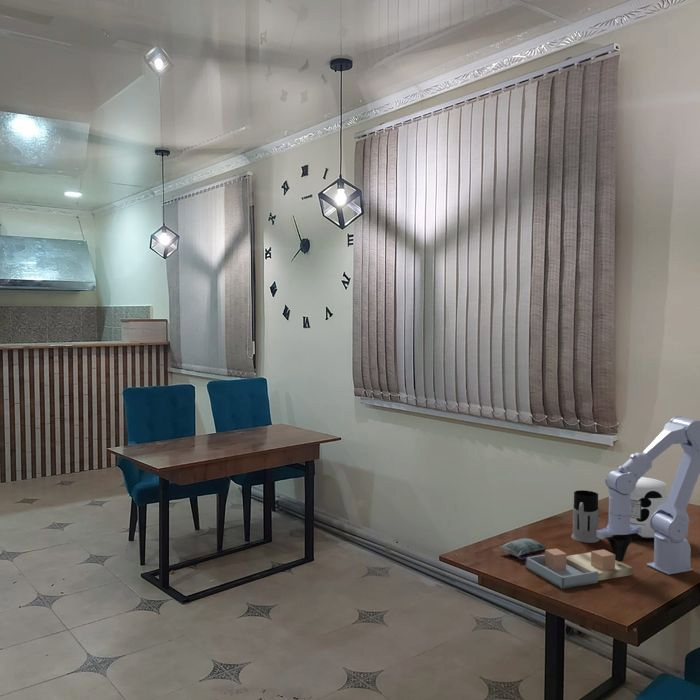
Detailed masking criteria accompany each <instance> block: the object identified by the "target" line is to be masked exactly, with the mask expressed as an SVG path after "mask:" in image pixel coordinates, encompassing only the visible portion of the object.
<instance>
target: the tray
mask: <svg viewBox="0 0 700 700" xmlns="http://www.w3.org/2000/svg"><path fill="white" fill-rule="evenodd" d="M525 569H527V570H529V571H531V572H532V573H534V574H536V575H537V576H538V577H541V578H542V579H544V580H546V581H548V582H549V583H551V584H553V585H555V586H557V587H558V588H560V589H561V590H564V589H569V588H575V587H581V586H587V585H592V584H598V583H599V581H598V572H597V571H594V572H588V573H583V572H581V571H579V570H577V569H575V568H573V567H571V566H569V565H567V564H566V569H564V570H556V571H554V570H552V569H551V568H549V567H547V566H546V565H545V554H540V555H538V556H532V557H526V558H525Z"/></svg>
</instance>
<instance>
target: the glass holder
mask: <svg viewBox="0 0 700 700" xmlns="http://www.w3.org/2000/svg"><path fill="white" fill-rule="evenodd" d="M572 507H573V509H572V533H571V535H570V536H571V537H570V538H571V539H573V540H574V541H577V542H580V543H581V542H582V543H589V544H590V543H591V544H592V543H597V542H600V538H598V537H597V530H599V494H598V492H595V491H591V490H583V489H582V490H575V491H573V505H572Z"/></svg>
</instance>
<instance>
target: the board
mask: <svg viewBox="0 0 700 700" xmlns="http://www.w3.org/2000/svg"><path fill="white" fill-rule="evenodd" d="M566 564H567V565H569V566H571V567H573V568H575V569H577V570H579V571H581V572H583V573H588V572H594V571H597V572H598V582H599V581H605V580H609V579H616V578H620V577H627V576H632V575H634V573H633V572H634V568H633V566H631V565H629V564H625V563H624V562H623V561H621V562H618V561H616V560H615V569H610V570H604V571H602V570H600V569H598V568H596V567H594V566H592V565H591V551H589V552H584V553H579V554H578V553H576V554H572V555H566Z"/></svg>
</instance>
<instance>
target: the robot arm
mask: <svg viewBox="0 0 700 700" xmlns="http://www.w3.org/2000/svg"><path fill="white" fill-rule="evenodd" d="M678 444H679V445H680V447H681V448H682V450H683V452H684V453H683V456H682V458H681V460H680V462H679V465H678V467H677V470H676V474H675V476H674V477H673V481H672V483H671V487H670V489H669V492H668V493H667V499H666V502H664V503H663V504H661V505H659V506H658V508H657V510H656V511H655V512H654V513H653V514H652V516H651V518H650V526H651V528H652V529H653V530H654V535H655V538H654V539H653V541H654V542H653V543H654V548H653V562H648V563H646V565H647V567H650V568H653V569H655V570H656V571H660V572H661V573H664V574H667V575H674V574H680V573H685V572H686V573H687V572H690V571H693V567H691V555H692V553H691V552H692V551H691V550H692V549H691V545H690V542H689V541H688V539H686V538H687V536H688V533H689V523H690V520H691V519H690V516H689V515H688V512H687V507H688V505H689V502H690V499H691V497H692V494H693V492H694V488H695V486H696V484H697V481H698V478H699V475H700V420H696V419H691V418H687V417H684V416H683V417H682V416H677V415H676V416H674V417H672V418H671V419H670V420H669V421H668V422H666V423H665V424H664V426H663V430H662V431H661V432H660V433H659V434H658V435H657V436H656V437H655V438H654V440H652V442H650V444H649V445H648V446H646V448H645V449H644V450H643V451H642V452H635V453H631V454H630V456H629V458H628V460H626V461H625V462H624V463H623V464H622V465H620V466H618V468H617V469H615V470H612V471H610V472H609V473H608V475H607V476H606V479H604V483H605V486H606V487H607V488H608V524H607V525H606V527H604V528H602V529H598V530H597V537H598V538H599V540H604V539H605V538H606V539H607V542H608V543H609V545H610V549H611V553H613V554H615V560H616V561H618V562H623V561H624V558H625V556H626V552H627V550H628V547H629V546H630V544H631V542H632V541H633V537H630V536H628V535H629V534H634V533H638V534H640V533H641V527H640V526H638V525H630V507H631V492H632V491H634V490H635V487H636V483H637V482H638V480H639V479H640V478H641V477H644V475H645V474H647V473H648V472H649V471H650V470H651V469H652V468H653V462H654V461H655V459H656V458H658V457H659V456H660V455H662V454H663V453H664V452H666V451H667V450H668V449H669V448H670V447H671V446H673V445H678Z"/></svg>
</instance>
